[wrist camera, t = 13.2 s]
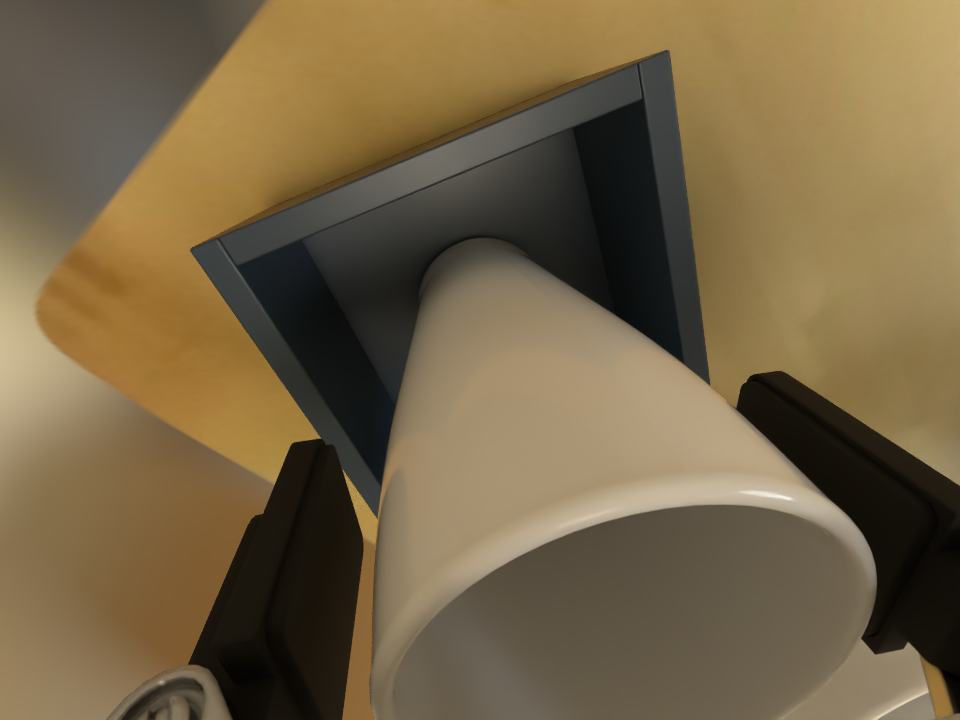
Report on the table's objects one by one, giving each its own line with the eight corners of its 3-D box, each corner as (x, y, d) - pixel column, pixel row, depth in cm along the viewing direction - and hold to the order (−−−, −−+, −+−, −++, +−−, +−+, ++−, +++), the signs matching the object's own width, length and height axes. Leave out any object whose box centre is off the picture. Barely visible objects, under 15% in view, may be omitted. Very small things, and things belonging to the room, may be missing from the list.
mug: (584, 442, 24) (736, 720, 13) (768, 328, 22) (1138, 533, 11) (683, 572, 31) (843, 833, 19) (832, 492, 29) (1106, 728, 18)
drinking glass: (485, 176, 17) (751, 343, 3) (588, 297, 20) (951, 642, 6) (365, 298, 18) (234, 734, 5) (476, 393, 21) (579, 835, 8)
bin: (576, 79, 16) (670, 48, 10) (636, 357, 22) (717, 440, 16) (268, 208, 17) (188, 249, 11) (406, 445, 23) (402, 556, 17)
